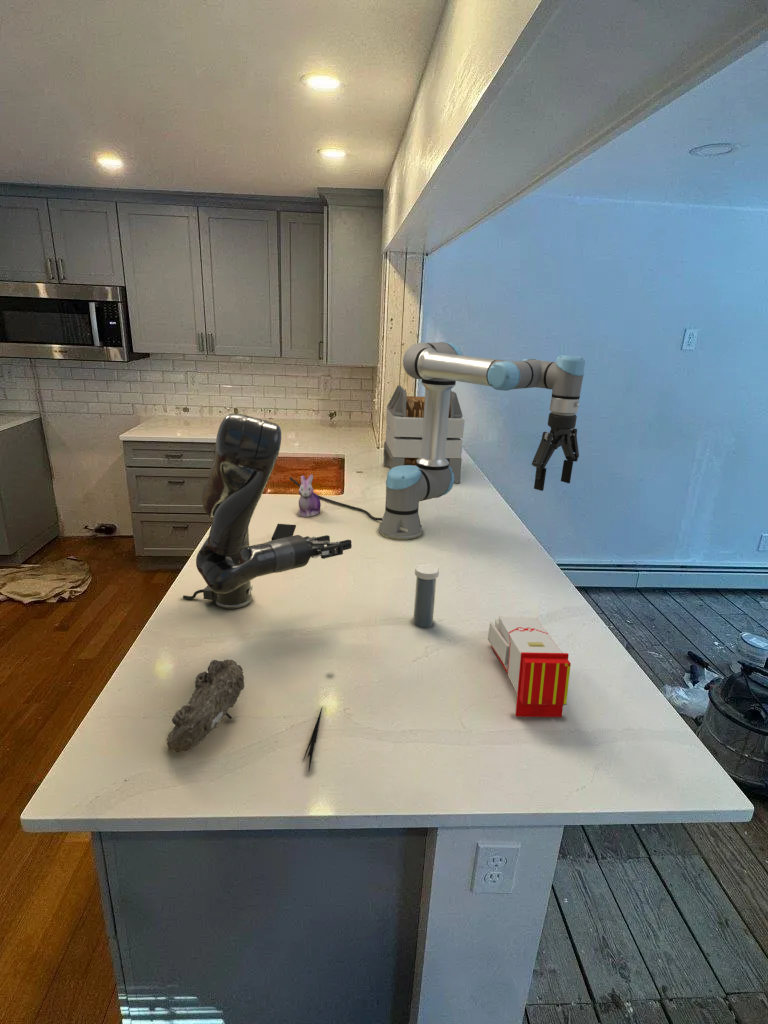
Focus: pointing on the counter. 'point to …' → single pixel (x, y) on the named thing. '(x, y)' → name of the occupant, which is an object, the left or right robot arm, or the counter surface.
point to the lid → (426, 571)
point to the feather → (313, 740)
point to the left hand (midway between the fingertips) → (339, 541)
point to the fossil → (206, 705)
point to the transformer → (419, 431)
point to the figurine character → (283, 531)
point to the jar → (424, 602)
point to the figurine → (308, 498)
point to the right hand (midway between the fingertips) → (552, 485)
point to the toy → (531, 665)
